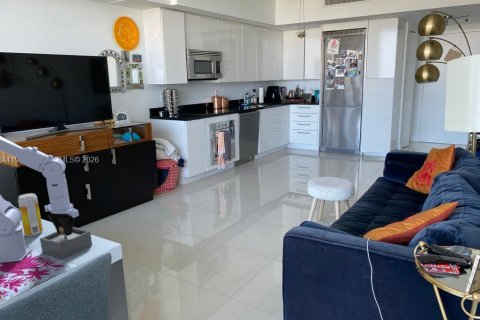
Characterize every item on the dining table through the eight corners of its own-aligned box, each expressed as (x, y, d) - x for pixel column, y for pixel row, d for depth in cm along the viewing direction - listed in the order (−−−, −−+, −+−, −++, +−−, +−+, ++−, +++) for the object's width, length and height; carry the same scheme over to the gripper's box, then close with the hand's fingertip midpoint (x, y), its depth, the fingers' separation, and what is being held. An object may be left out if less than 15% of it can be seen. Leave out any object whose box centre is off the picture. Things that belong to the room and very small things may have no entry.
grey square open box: (42, 252, 122) (39, 238, 121) (71, 238, 131) (69, 226, 130) (63, 259, 117) (61, 244, 115) (92, 244, 126) (90, 231, 125)
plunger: (47, 242, 122) (45, 228, 120) (68, 232, 128) (66, 219, 127) (63, 246, 118) (60, 232, 117) (84, 236, 125) (82, 223, 123)
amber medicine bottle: (39, 228, 141) (32, 191, 138) (46, 232, 138) (39, 194, 134) (22, 234, 137) (14, 196, 133) (28, 238, 133) (21, 199, 130)
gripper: (84, 194, 119) (89, 232, 123) (55, 189, 126) (61, 225, 129) (64, 201, 113) (71, 241, 117) (36, 195, 120) (43, 233, 123)
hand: (65, 233), depth 123 cm, fingers closed on plunger, 3 cm apart
